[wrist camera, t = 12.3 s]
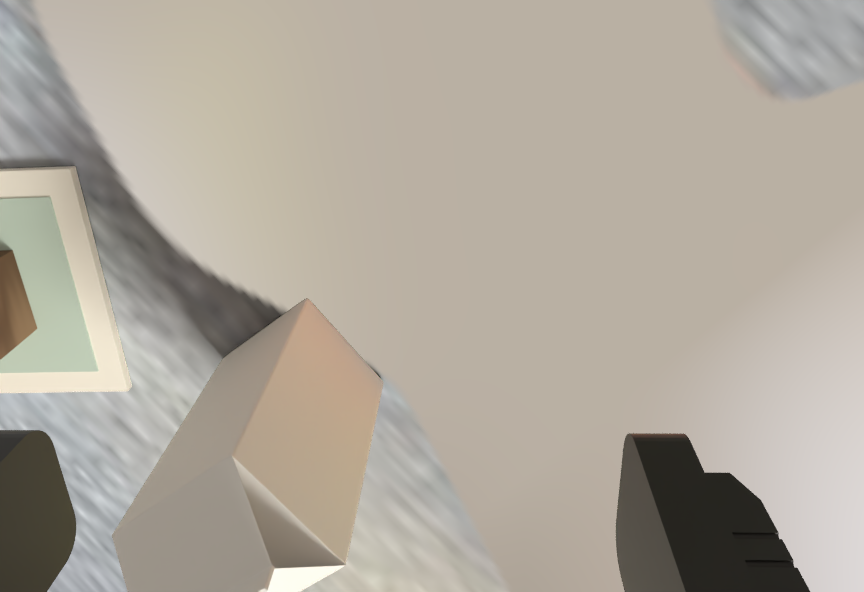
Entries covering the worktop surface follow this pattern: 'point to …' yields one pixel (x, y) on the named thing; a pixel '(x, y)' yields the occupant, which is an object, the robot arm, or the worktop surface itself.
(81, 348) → the coaster
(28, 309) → the walnut block
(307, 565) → the milk carton
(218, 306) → the worktop surface
